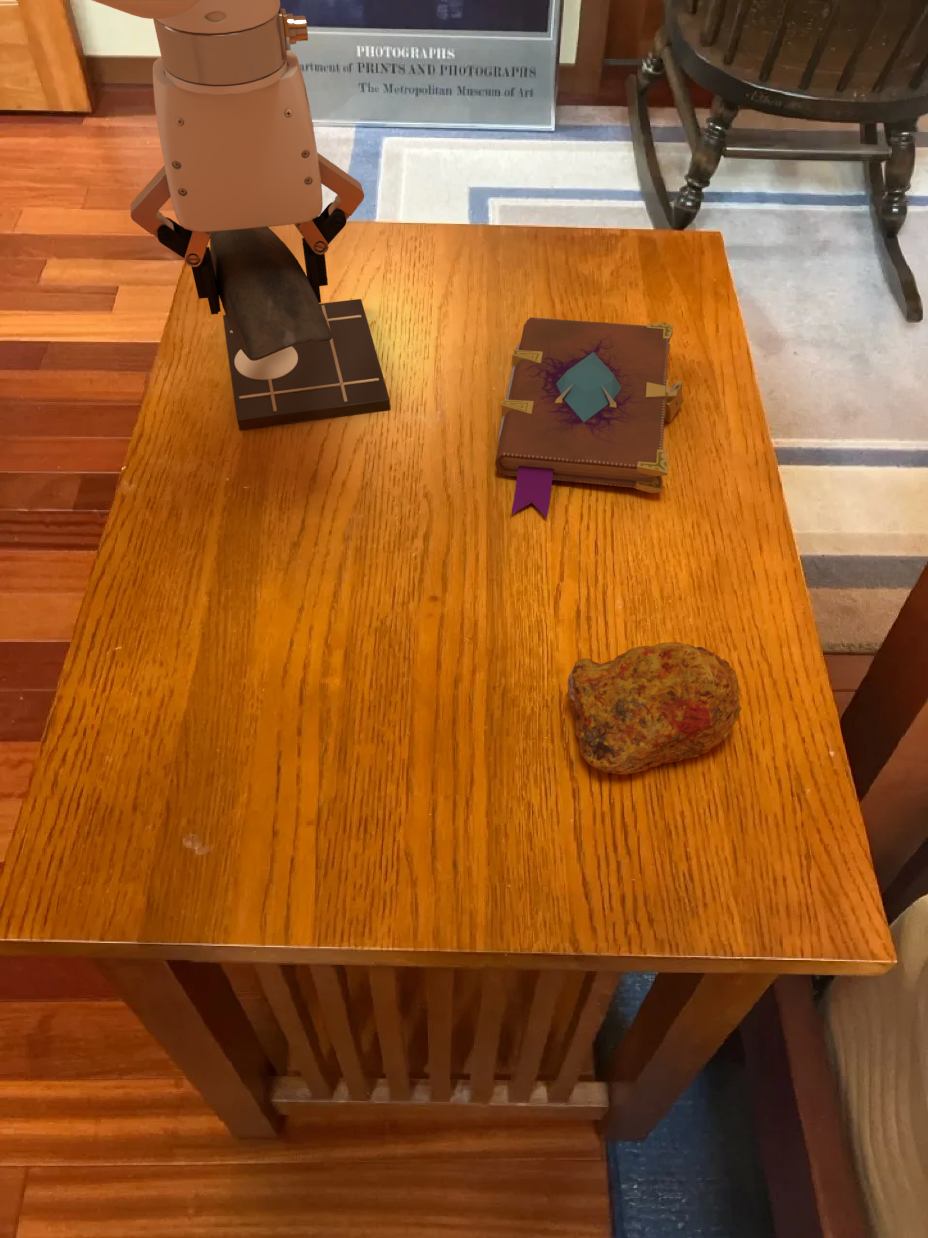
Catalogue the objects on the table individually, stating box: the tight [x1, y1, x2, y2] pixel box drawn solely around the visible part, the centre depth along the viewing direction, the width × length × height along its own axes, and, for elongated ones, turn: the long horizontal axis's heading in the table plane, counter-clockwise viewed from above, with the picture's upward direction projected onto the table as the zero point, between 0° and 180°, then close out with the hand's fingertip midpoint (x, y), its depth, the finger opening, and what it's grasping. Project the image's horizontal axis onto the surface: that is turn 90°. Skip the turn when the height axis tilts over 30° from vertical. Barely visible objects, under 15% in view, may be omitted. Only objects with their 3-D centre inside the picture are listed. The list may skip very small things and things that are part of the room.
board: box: [222, 298, 391, 431], centre depth 90 cm, size 14×16×1 cm
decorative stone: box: [209, 227, 332, 361], centre depth 70 cm, size 17×6×4 cm, turn 24°
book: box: [494, 316, 684, 519], centre depth 84 cm, size 16×25×5 cm, turn 171°
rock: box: [566, 641, 742, 775], centre depth 65 cm, size 11×8×10 cm
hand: (264, 296), depth 71 cm, fingers closed on decorative stone, 6 cm apart
